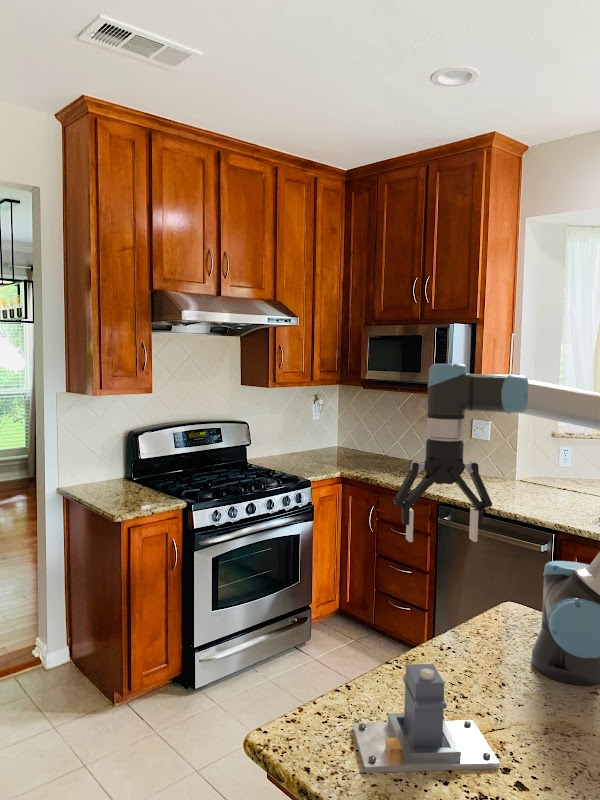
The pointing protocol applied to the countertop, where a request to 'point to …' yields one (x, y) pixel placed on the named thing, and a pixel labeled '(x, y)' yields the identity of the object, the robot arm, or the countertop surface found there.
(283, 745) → the countertop surface
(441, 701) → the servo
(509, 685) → the countertop surface
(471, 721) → the chassis
